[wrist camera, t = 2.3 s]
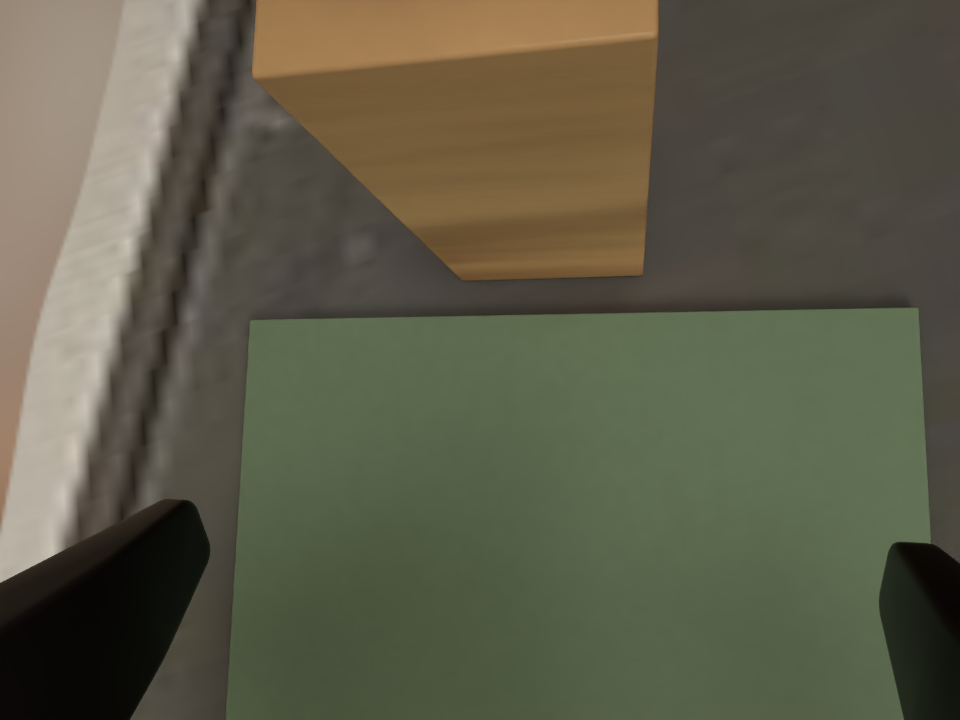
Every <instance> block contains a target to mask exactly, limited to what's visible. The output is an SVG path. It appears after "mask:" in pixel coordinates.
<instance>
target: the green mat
mask: <svg viewBox="0 0 960 720" xmlns="http://www.w3.org/2000/svg"><path fill="white" fill-rule="evenodd" d="M896 542H917V543H929V544H931V534H930V516H929V497H928V479H927V461H926V442H925V424H924V405H923V387H922V368H921V350H920V331H919V313H918V308H917V307H908V308H854V309H801V310H747V311H694V312H640V313H587V314H533V315H480V316H426V317H373V318H319V319H266V320H250V328H249V345H248V361H247V377H246V394H245V410H244V426H243V443H242V459H241V475H240V492H239V508H238V524H237V540H236V557H235V573H234V589H233V606H232V622H231V638H230V655H229V671H228V687H227V704H226V720H904V717H903V713H902V709H901V704H900V700H899V696H898V691H897V687H896V683H895V678H894V674H893V670H892V665H891V661H890V656H889V652H888V648H887V643H886V639H885V635H884V630H883V626H882V622H881V617H880V611H879V593H880V588H881V583H882V579H883V574H884V569H885V565H886V560H887V555H888V551H889V549H890V547H891V545H892V544H894V543H896Z"/></svg>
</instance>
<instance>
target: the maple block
mask: <svg viewBox="0 0 960 720" xmlns="http://www.w3.org/2000/svg"><path fill="white" fill-rule="evenodd" d="M658 39H659V0H257V4H256V20H255V35H254V51H253V67H252V74H253V78H254V80H255V81H257V82H258V83H259V84H260V85H261V86H262V87H263V88H264V89H265V90H266V91H267V92H268V93H269V94H270V95H271V96H272V97H273V98H274V99H275V100H276V101H277V102H278V103H279V104H280V105H281V106H282V107H283V108H284V109H285V110H286V111H287V112H289V113H290V114H291V115H292V116H293V117H294V118H295V119H296V120H297V121H298V122H299V123H300V124H301V125H302V126H303V127H304V128H305V129H306V130H307V131H308V132H309V133H310V134H311V135H312V136H313V137H314V138H315V139H316V140H317V141H318V142H320V143H321V144H322V145H323V146H324V147H325V148H326V149H327V150H328V151H329V152H330V153H331V154H332V155H333V156H334V157H335V158H336V159H337V160H338V161H339V162H340V163H341V164H342V165H343V166H344V167H345V168H346V169H347V170H348V171H349V172H350V173H352V174H353V175H354V176H355V177H356V178H357V179H358V180H359V181H360V182H361V183H362V184H363V185H364V186H365V187H366V188H367V189H368V190H369V191H370V192H371V193H372V194H373V195H374V196H375V197H376V198H377V199H378V200H379V201H380V202H381V203H383V204H384V205H385V206H386V207H387V208H388V209H389V210H390V211H391V212H392V213H393V214H394V215H395V216H396V217H397V218H398V219H399V220H400V221H401V222H402V223H403V224H404V225H405V226H406V227H407V228H408V229H409V230H410V231H411V232H412V233H413V234H415V235H416V236H417V237H418V238H419V239H420V240H421V241H422V242H423V243H424V244H425V245H426V246H427V247H428V248H429V249H430V250H431V251H432V252H433V253H434V254H435V255H436V256H437V257H438V258H439V259H440V260H441V261H442V262H443V263H444V264H446V265H447V266H448V267H449V268H450V269H451V270H452V271H453V272H454V273H455V274H456V275H457V276H458V277H459V278H460V279H461V280H463V281H473V280H507V279H540V278H573V277H607V276H640V275H642V274H643V267H644V252H645V237H646V222H647V206H648V191H649V176H650V161H651V146H652V130H653V115H654V100H655V85H656V69H657V54H658Z"/></svg>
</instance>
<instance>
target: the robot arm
mask: <svg viewBox="0 0 960 720" xmlns="http://www.w3.org/2000/svg"><path fill="white" fill-rule="evenodd" d="M209 556H210V543H209V540H208V537H207V535H206V532H205V529H204V526H203V524H202V521H201V518H200V515H199V512H198V510H197V508H196V506H195V505H194V504H193V503H192V502H190V501H188V500H175V499H165V500H161V501H159V502H157V503H155V504H153V505H151V506H149V507H147V508H145V509H143V510H142V511H140V512H138V513H136V514H134V515H132V516H130V517H128V518H126V519H124V520H122V521H120V522H118V523H116V524H114V525H112V526H110V527H108V528H106V529H104V530H103V531H101V532H99V533H97V534H95V535H93V536H91V537H89V538H87V539H85V540H83V541H81V542H79V543H77V544H75V545H73V546H71V547H69V548H67V549H66V550H64V551H62V552H60V553H58V554H56V555H54V556H52V557H50V558H48V559H46V560H44V561H42V562H40V563H38V564H36V565H34V566H32V567H30V568H29V569H27V570H25V571H23V572H21V573H19V574H17V575H15V576H13V577H11V578H9V579H7V580H5V581H3V582H1V583H0V720H130V718H131V717H132V715H133V713H134V711H135V710H136V708H137V706H138V704H139V702H140V701H141V699H142V697H143V695H144V694H145V692H146V690H147V688H148V687H149V685H150V683H151V681H152V680H153V678H154V676H155V674H156V672H157V671H158V669H159V667H160V665H161V663H162V661H163V659H164V657H165V655H166V653H167V651H168V649H169V647H170V645H171V643H172V641H173V638H174V636H175V634H176V632H177V630H178V627H179V625H180V623H181V621H182V619H183V616H184V614H185V612H186V610H187V607H188V605H189V603H190V601H191V599H192V596H193V594H194V592H195V590H196V588H197V585H198V583H199V581H200V579H201V576H202V574H203V572H204V570H205V568H206V565H207V563H208V560H209ZM879 611H880V617H881V622H882V626H883V630H884V635H885V639H886V643H887V648H888V652H889V656H890V661H891V665H892V670H893V674H894V678H895V683H896V687H897V691H898V696H899V700H900V704H901V709H902V713H903V717H904V720H960V563H959V562H957V561H956V560H955V559H953V558H952V557H951V556H950V555H948V554H947V553H946V552H944V551H943V550H942V549H940V548H939V547H937V546H936V545H933V544H929V543H917V542H896V543H894V544H892V545H891V547H890V549H889V551H888V555H887V560H886V565H885V569H884V574H883V579H882V583H881V588H880V593H879Z"/></svg>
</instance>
